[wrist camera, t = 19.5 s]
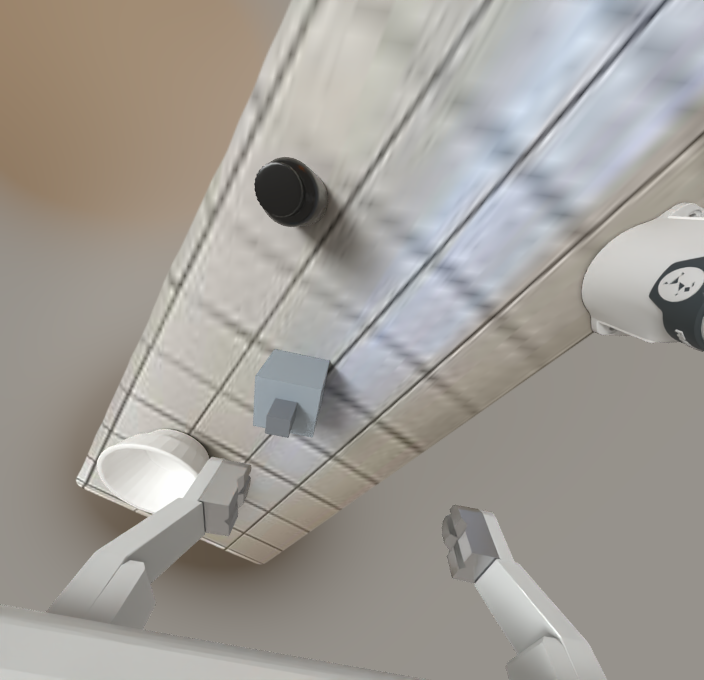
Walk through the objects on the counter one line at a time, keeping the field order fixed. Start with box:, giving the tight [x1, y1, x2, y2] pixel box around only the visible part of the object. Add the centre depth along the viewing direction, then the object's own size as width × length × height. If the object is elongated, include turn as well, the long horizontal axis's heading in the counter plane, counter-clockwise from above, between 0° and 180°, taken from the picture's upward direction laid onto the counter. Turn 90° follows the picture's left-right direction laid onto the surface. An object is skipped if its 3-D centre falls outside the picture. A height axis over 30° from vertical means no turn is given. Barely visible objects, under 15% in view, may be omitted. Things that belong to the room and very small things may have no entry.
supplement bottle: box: [254, 157, 328, 227], centre depth 31 cm, size 7×7×12 cm
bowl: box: [97, 429, 209, 514], centre depth 57 cm, size 22×22×8 cm
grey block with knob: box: [253, 349, 330, 438], centre depth 44 cm, size 10×10×13 cm
